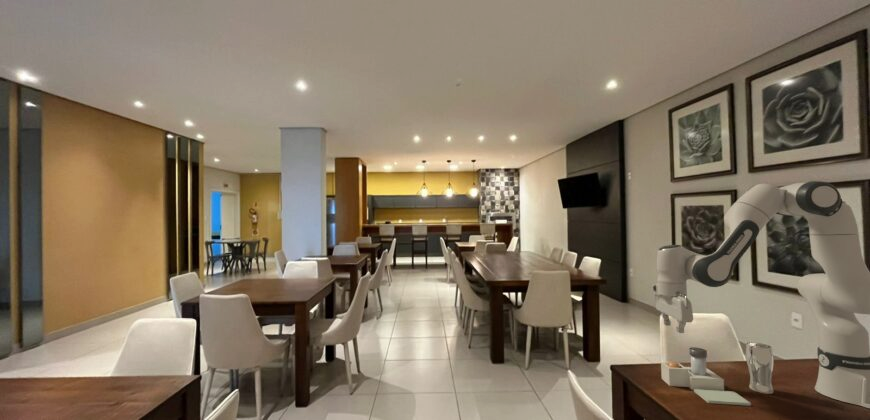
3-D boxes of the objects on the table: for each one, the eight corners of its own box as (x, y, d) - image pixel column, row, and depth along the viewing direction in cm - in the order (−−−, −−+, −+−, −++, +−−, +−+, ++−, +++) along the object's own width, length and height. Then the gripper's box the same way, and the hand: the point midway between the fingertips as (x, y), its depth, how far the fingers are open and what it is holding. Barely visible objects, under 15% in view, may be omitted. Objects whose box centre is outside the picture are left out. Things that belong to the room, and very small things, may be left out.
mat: (733, 393, 119) (733, 391, 119) (751, 405, 111) (750, 403, 111) (694, 391, 121) (694, 389, 121) (708, 403, 113) (708, 400, 113)
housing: (706, 379, 130) (705, 362, 131) (724, 391, 120) (723, 373, 121) (659, 376, 133) (658, 360, 133) (672, 388, 123) (671, 370, 123)
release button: (677, 373, 129) (676, 362, 129) (681, 376, 126) (681, 365, 126) (667, 372, 129) (666, 361, 130) (671, 376, 126) (671, 364, 126)
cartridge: (703, 381, 128) (701, 347, 129) (711, 387, 123) (709, 352, 124) (687, 380, 129) (686, 347, 130) (695, 386, 124) (694, 351, 125)
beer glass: (780, 395, 117) (778, 349, 118) (756, 393, 119) (753, 347, 119) (765, 386, 124) (763, 342, 125) (742, 384, 125) (740, 341, 126)
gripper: (697, 295, 118) (699, 337, 118) (667, 285, 138) (669, 321, 138) (677, 295, 119) (678, 337, 119) (650, 285, 139) (651, 321, 139)
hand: (673, 328), depth 128 cm, fingers open, 8 cm apart
